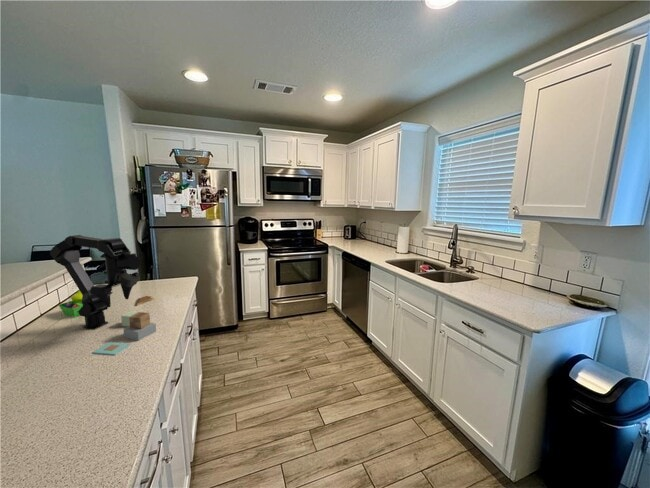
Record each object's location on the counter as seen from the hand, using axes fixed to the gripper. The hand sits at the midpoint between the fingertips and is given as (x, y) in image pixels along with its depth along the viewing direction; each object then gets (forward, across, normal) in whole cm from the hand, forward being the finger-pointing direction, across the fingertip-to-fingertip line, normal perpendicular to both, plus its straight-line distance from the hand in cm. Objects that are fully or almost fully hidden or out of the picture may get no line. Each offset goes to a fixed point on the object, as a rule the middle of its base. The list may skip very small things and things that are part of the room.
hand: (118, 302), depth 115 cm
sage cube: (+12, +5, -1) cm, 13 cm away
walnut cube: (+8, -3, -12) cm, 15 cm away
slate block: (+12, -3, -12) cm, 17 cm away
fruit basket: (+12, +11, +33) cm, 37 cm away
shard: (+13, +31, +13) cm, 36 cm away
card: (+12, -15, -10) cm, 22 cm away
